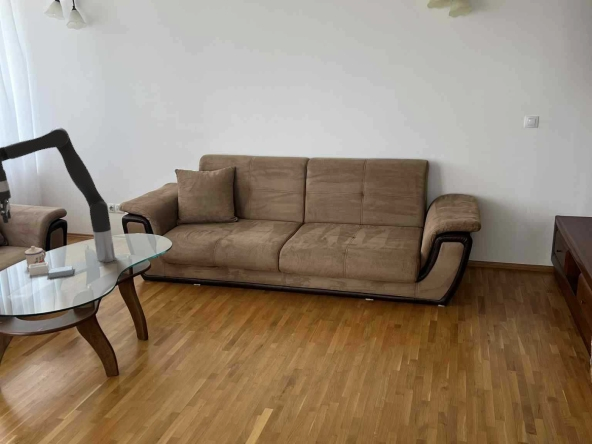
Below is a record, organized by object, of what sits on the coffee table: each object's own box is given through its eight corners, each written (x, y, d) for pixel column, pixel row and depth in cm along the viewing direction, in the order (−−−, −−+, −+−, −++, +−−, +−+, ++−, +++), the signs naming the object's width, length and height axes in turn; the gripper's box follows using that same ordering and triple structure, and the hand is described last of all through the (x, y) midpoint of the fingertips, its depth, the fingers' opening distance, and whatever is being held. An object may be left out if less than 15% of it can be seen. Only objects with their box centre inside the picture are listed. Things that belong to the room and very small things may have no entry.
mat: (75, 270, 291) (75, 268, 291) (74, 277, 282) (74, 275, 282) (48, 274, 287) (48, 272, 287) (47, 281, 278) (46, 279, 278)
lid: (73, 270, 289) (72, 265, 288) (72, 274, 283) (71, 269, 283) (50, 273, 286) (49, 269, 285) (49, 277, 280) (48, 273, 279)
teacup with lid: (36, 270, 294) (32, 249, 291) (23, 269, 297) (19, 248, 294) (53, 262, 305) (49, 242, 302) (40, 261, 308) (36, 241, 305)
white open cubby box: (49, 270, 293) (48, 261, 291) (49, 274, 288) (47, 265, 286) (31, 273, 290) (29, 264, 289) (30, 277, 285) (28, 268, 284)
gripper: (7, 191, 273) (13, 223, 278) (11, 186, 286) (17, 216, 291) (-10, 193, 271) (-3, 225, 276) (-5, 187, 284) (1, 218, 289)
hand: (7, 220), depth 283 cm, fingers open, 8 cm apart
